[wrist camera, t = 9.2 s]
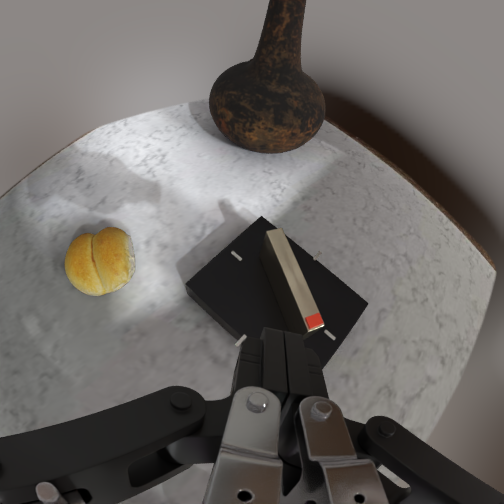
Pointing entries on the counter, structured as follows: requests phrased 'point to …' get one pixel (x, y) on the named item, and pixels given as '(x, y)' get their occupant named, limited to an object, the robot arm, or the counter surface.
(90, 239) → the bread roll
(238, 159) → the counter surface
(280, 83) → the brown mottled bulbous container
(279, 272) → the red-tipped beige bar
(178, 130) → the counter surface
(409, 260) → the counter surface
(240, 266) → the black square dial panel
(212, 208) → the counter surface
